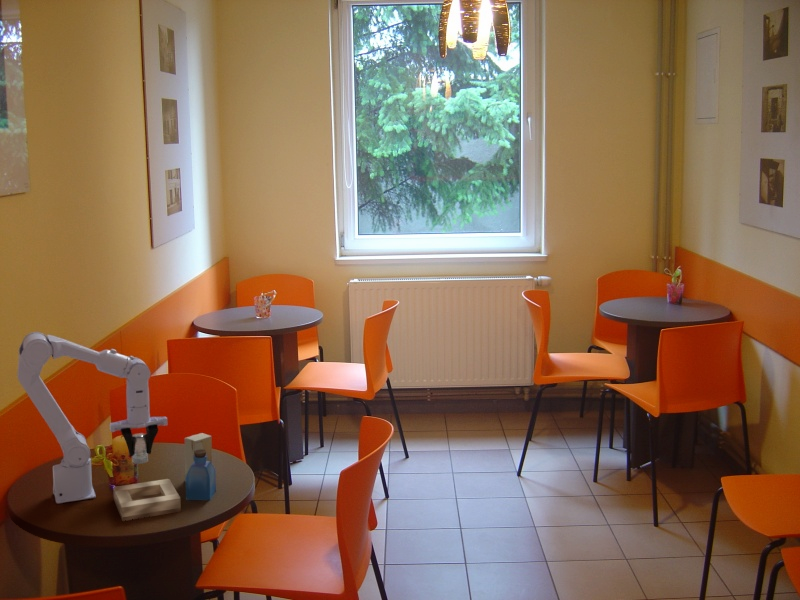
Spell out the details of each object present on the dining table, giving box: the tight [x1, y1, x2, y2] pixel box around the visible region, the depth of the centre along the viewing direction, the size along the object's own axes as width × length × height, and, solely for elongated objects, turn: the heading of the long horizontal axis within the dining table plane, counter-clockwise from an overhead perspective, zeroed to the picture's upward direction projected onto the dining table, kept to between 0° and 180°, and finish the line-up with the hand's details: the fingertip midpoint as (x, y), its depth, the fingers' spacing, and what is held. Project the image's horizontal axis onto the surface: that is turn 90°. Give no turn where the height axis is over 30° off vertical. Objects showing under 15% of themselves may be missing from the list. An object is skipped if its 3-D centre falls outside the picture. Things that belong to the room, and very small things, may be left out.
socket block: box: [112, 478, 182, 522], centre depth 215 cm, size 14×14×4 cm
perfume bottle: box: [185, 449, 217, 501], centre depth 222 cm, size 6×6×12 cm
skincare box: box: [184, 432, 213, 481], centre depth 232 cm, size 6×4×12 cm
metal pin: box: [131, 432, 149, 465], centre depth 227 cm, size 4×4×7 cm
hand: (139, 453), depth 227 cm, fingers closed on metal pin, 4 cm apart
